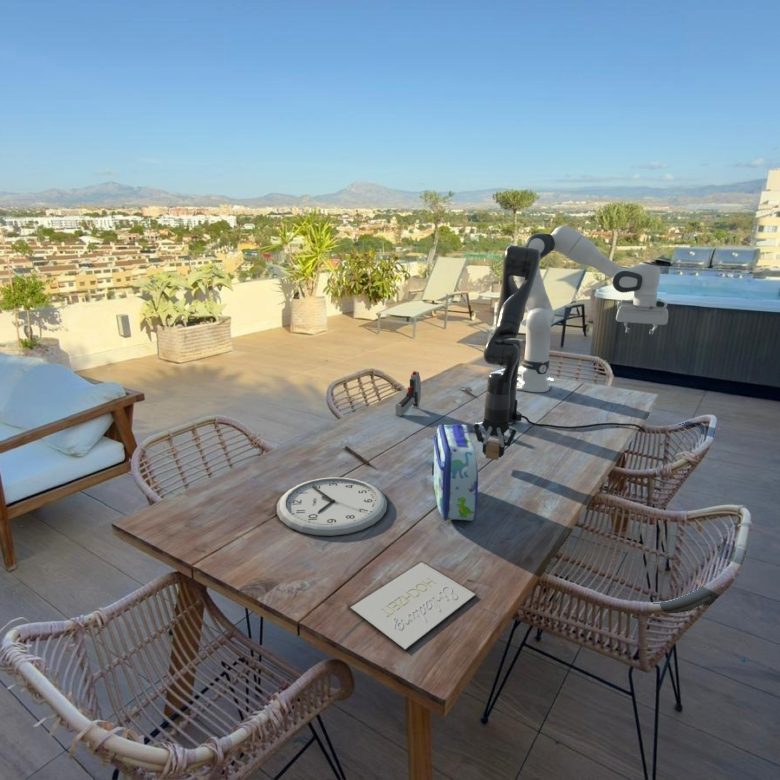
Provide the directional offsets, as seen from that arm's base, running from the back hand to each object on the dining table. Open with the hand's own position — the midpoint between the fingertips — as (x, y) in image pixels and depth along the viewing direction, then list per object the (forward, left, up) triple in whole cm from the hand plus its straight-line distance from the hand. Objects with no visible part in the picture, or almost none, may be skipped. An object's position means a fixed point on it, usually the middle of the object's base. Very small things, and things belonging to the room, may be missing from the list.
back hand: (639, 333), depth 227 cm
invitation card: (+95, -140, -31) cm, 172 cm away
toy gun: (-13, -101, -31) cm, 107 cm away
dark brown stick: (+24, -133, -31) cm, 139 cm away
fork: (-31, -66, -31) cm, 79 cm away
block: (+42, -93, -28) cm, 105 cm away
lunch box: (+61, -116, -31) cm, 134 cm away
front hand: (+42, -93, -27) cm, 105 cm away
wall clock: (+52, -148, -31) cm, 160 cm away
